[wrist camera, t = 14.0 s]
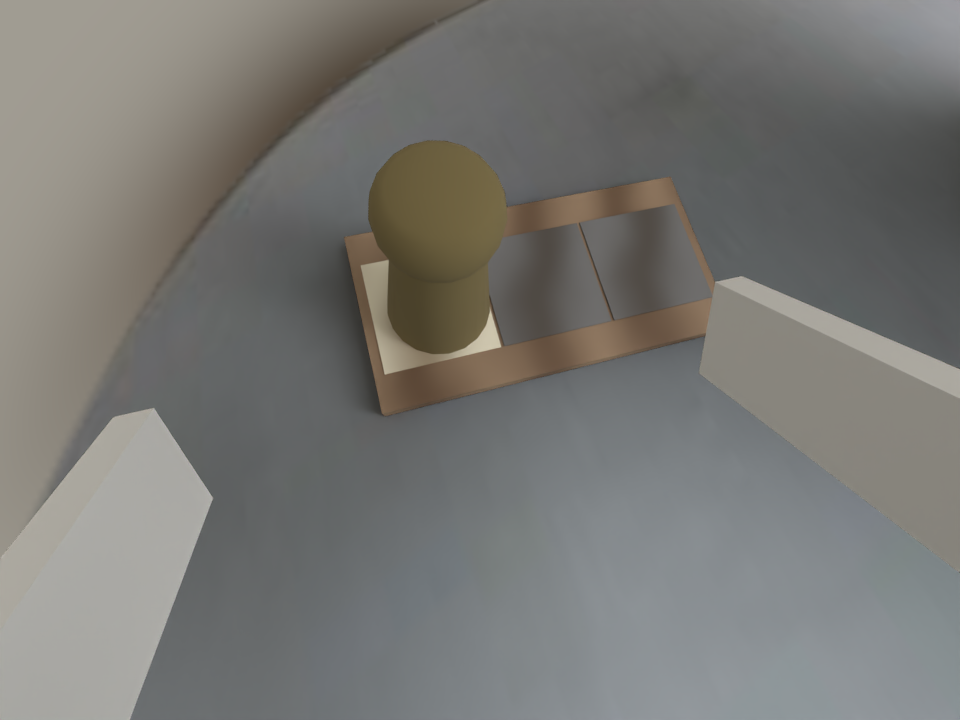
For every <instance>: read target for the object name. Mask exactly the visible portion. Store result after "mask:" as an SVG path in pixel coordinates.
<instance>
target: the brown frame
mask: <svg viewBox="0 0 960 720" xmlns="http://www.w3.org/2000/svg"><path fill="white" fill-rule="evenodd" d="M506 208H507V223H506V226H505V230H504V233H503V237H502V240H501V244H500V246H499V248H498V249H497V250H496V252H495V253H494V255H493V256H492V257H491V259H490V260H489V262H488V275H489V301H490V313H489V317H488V320H487V324H486V327H485V328H484V330H483V331H482V332H481V334H480V335H479V337H478V338H477V339H476V340H475V341H474V342H472V343H471V344H470V345H468V346H467V347H466V348H464V349H461V350H458V351H456V352H453V353H450V354H430V353H426V352H422V351H419V350H416V349H414V348H413V347H411V346H410V345H408V344H407V343H405V342H404V341H402V339H401V338H400V337H399V336H398V334H397V333H396V332H395V331H394V329H393V328H392V325H391V322H390V320H389V317H388V314H387V294H388V263H389V259H388V258H387V257H386V256H385V254H384V253H383V252H382V251H381V250H380V248H379V247H378V245H377V243H376V240H375V237H374V234H373V232H369V233H363V234H358V235H353V236H347V237H344V240H345V244H346V249H347V253H348V258H349V263H350V267H351V272H352V277H353V281H354V286H355V291H356V295H357V300H358V304H359V309H360V314H361V318H362V323H363V328H364V332H365V337H366V342H367V346H368V351H369V355H370V360H371V365H372V369H373V374H374V379H375V383H376V388H377V392H378V397H379V402H380V406H381V411H382V414H383V415H384V416H388V415H392V414H396V413H400V412H404V411H408V410H412V409H416V408H420V407H424V406H428V405H432V404H436V403H440V402H444V401H448V400H452V399H456V398H460V397H464V396H468V395H472V394H476V393H480V392H484V391H488V390H492V389H496V388H500V387H504V386H508V385H512V384H516V383H520V382H524V381H528V380H532V379H536V378H540V377H544V376H548V375H552V374H556V373H560V372H564V371H568V370H572V369H576V368H580V367H584V366H588V365H592V364H596V363H600V362H604V361H608V360H611V359H615V358H619V357H623V356H627V355H631V354H635V353H639V352H643V351H647V350H651V349H655V348H659V347H663V346H667V345H671V344H675V343H679V342H683V341H687V340H691V339H695V338H699V337H703V336H706V330H707V325H708V319H709V314H710V308H711V303H712V297H713V291H714V286H715V281H714V279H713V276H712V274H711V272H710V269H709V267H708V265H707V262H706V260H705V257H704V255H703V253H702V250H701V248H700V246H699V243H698V241H697V238H696V236H695V234H694V231H693V229H692V227H691V224H690V222H689V220H688V217H687V215H686V212H685V210H684V208H683V205H682V203H681V201H680V198H679V196H678V194H677V191H676V189H675V186H674V184H673V182H672V179H671V177H666V178H661V179H655V180H650V181H644V182H639V183H634V184H628V185H623V186H617V187H612V188H607V189H601V190H596V191H590V192H585V193H580V194H574V195H569V196H563V197H558V198H553V199H547V200H542V201H536V202H531V203H526V204H520V205H515V206H509V207H506Z"/></svg>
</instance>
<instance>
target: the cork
mask: <svg viewBox="0 0 960 720" xmlns="http://www.w3.org/2000/svg"><path fill="white" fill-rule="evenodd" d="M368 220H369V223H370V226H371V229H372V232H373V234H374V237H375V240H376V243H377V245H378V247H379V248H380V250H381V251H382V252H383V253H384V254H385V256H386V257H387V258H388V259H389V263H388V294H387V314H388V317H389V320H390V322H391V325H392V328H393V329H394V331H395V332H396V333H397V334H398V336H399V337H400V338H401V339H402V341H404V342H405V343H407V344H408V345H410V346H411V347H413V348H414V349H416V350H419V351H422V352H426V353H430V354H450V353H453V352H456V351H458V350H461V349H464V348H466V347H467V346H468V345H470V344H471V343H472V342H474V341H475V340H476V339H477V338H478V337H479V335H480V334H481V332H482V331H483V330H484V328H485V327H486V324H487V320H488V317H489V313H490V301H489V275H488V262H489V260H490V259H491V257H492V256H493V255H494V253H495V252H496V250H497V249H498V248H499V246H500V244H501V240H502V237H503V233H504V230H505V226H506V223H507V208H506V198H505V192H504V189H503V187H502V185H501V183H500V181H499V178H498V176H497V174H496V173H495V172H494V171H493V170H492V168H491V167H490V166H489V165H488V164H487V163H486V162H485V161H484V160H483V158H482V157H481V156H480V155H478V154H476V153H475V152H473V151H471V150H470V149H468V148H467V147H465V146H462V145H459V144H455V143H452V142H448V141H423V142H419V143H415V144H412V145H408V146H407V147H405V148H403V149H402V150H400V151H398V152H397V153H395V154H393V155H392V157H391V158H390V159H389V160H388V161H387V162H386V163H385V164H384V166H383V167H382V168H381V169H380V170H379V171H378V172H377V174H376V176H375V179H374V182H373V184H372V187H371V189H370V193H369V211H368Z"/></svg>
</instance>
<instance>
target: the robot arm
mask: <svg viewBox="0 0 960 720" xmlns="http://www.w3.org/2000/svg"><path fill="white" fill-rule="evenodd" d="M699 374H701V375H702V376H703V377H705V378H706V379H707V380H709V381H710V382H711V383H712V384H714V385H715V386H716V387H718V388H719V389H720V390H722V391H723V392H724V393H725V394H727V395H728V396H729V397H731V398H732V399H733V400H735V401H736V402H737V403H739V404H740V405H741V406H742V407H744V408H745V409H746V410H748V411H749V412H750V413H752V414H753V415H754V416H756V417H757V418H758V419H759V420H761V421H762V422H763V423H765V424H766V425H767V426H769V427H770V428H771V429H773V430H774V431H775V432H776V433H778V434H779V435H780V436H782V437H783V438H784V439H786V440H787V441H788V442H789V443H791V444H792V445H793V446H795V447H796V448H797V449H799V450H800V451H801V452H803V453H804V454H805V455H806V456H808V457H809V458H810V459H812V460H813V461H814V462H816V463H817V464H818V465H820V466H821V467H822V468H823V469H825V470H826V471H827V472H829V473H830V474H831V475H833V476H834V477H835V478H836V479H838V480H839V481H840V482H842V483H843V484H844V485H846V486H847V487H848V488H850V489H851V490H852V491H853V492H855V493H856V494H857V495H859V496H860V497H861V498H863V499H864V500H865V501H867V502H868V503H869V504H870V505H872V506H873V507H874V508H876V509H877V510H878V511H880V512H881V513H882V514H884V515H885V516H886V517H887V518H889V519H890V520H891V521H893V522H894V523H895V524H897V525H898V526H899V527H900V528H902V529H903V530H904V531H906V532H907V533H908V534H910V535H911V536H912V537H914V538H915V539H916V540H917V541H919V542H920V543H921V544H923V545H924V546H925V547H927V548H928V549H929V550H931V551H932V552H933V553H934V554H936V555H937V556H938V557H940V558H941V559H942V560H944V561H945V562H946V563H948V564H949V565H950V566H951V567H953V568H954V569H955V570H957V571H958V572H959V573H960V369H959V368H957V367H954V366H952V365H950V364H947V363H944V362H942V361H939V360H937V359H935V358H932V357H930V356H928V355H925V354H923V353H921V352H918V351H916V350H913V349H911V348H909V347H906V346H904V345H902V344H899V343H897V342H895V341H892V340H890V339H888V338H885V337H883V336H881V335H878V334H876V333H874V332H871V331H869V330H867V329H864V328H862V327H860V326H857V325H855V324H853V323H850V322H848V321H846V320H843V319H841V318H839V317H836V316H834V315H832V314H829V313H827V312H825V311H822V310H820V309H818V308H815V307H813V306H811V305H808V304H806V303H804V302H801V301H799V300H797V299H794V298H792V297H789V296H787V295H785V294H782V293H780V292H778V291H775V290H773V289H771V288H768V287H766V286H764V285H761V284H759V283H757V282H754V281H752V280H750V279H747V278H745V277H743V276H740V277H736V278H731V279H727V280H722V281H718V282H715V286H714V291H713V297H712V303H711V308H710V314H709V319H708V325H707V330H706V336H705V342H704V347H703V353H702V358H701V364H700V369H699ZM212 499H213V497H212V496H211V494H210V493H209V491H208V490H207V488H206V487H205V485H204V484H203V482H202V481H201V479H200V478H199V476H198V474H197V473H196V471H195V470H194V468H193V467H192V465H191V464H190V462H189V461H188V459H187V458H186V456H185V455H184V453H183V452H182V450H181V449H180V447H179V446H178V444H177V443H176V441H175V439H174V438H173V436H172V435H171V433H170V432H169V430H168V429H167V427H166V426H165V424H164V423H163V421H162V420H161V418H160V417H159V415H158V414H157V412H156V411H155V409H154V408H151V409H147V410H142V411H138V412H133V413H129V414H125V415H120V416H116V417H113V418H112V419H111V421H110V422H109V423H108V424H107V426H106V427H105V428H104V429H103V431H102V432H101V433H100V434H99V436H98V437H97V438H96V439H95V441H94V442H93V443H92V444H91V446H90V447H89V448H88V449H87V451H86V452H85V453H84V454H83V456H82V457H81V458H80V459H79V461H78V462H77V463H76V464H75V466H74V467H73V468H72V469H71V471H70V472H69V473H68V474H67V476H66V477H65V478H64V479H63V481H62V482H61V483H60V484H59V486H58V487H57V488H56V489H55V491H54V492H53V493H52V494H51V496H50V497H49V498H48V499H47V501H46V502H45V503H44V504H43V506H42V507H41V508H40V509H39V511H38V512H37V513H36V514H35V516H34V517H33V518H32V519H31V521H30V522H29V523H28V524H27V526H26V527H25V528H24V529H23V531H22V532H21V533H20V534H19V536H18V537H17V538H16V539H15V541H14V542H13V543H12V544H11V546H10V547H9V548H8V549H7V550H6V552H5V553H4V554H3V556H2V557H1V558H0V720H130V718H131V715H132V713H133V710H134V707H135V705H136V702H137V699H138V697H139V694H140V691H141V689H142V686H143V683H144V681H145V678H146V675H147V673H148V670H149V667H150V665H151V662H152V659H153V657H154V654H155V651H156V649H157V646H158V643H159V641H160V638H161V635H162V633H163V630H164V627H165V625H166V622H167V619H168V617H169V614H170V611H171V609H172V606H173V603H174V601H175V598H176V595H177V593H178V590H179V587H180V585H181V582H182V579H183V577H184V574H185V571H186V569H187V566H188V563H189V561H190V558H191V555H192V553H193V550H194V547H195V545H196V542H197V539H198V537H199V534H200V531H201V529H202V526H203V523H204V521H205V518H206V515H207V513H208V510H209V507H210V505H211V502H212Z"/></svg>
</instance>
